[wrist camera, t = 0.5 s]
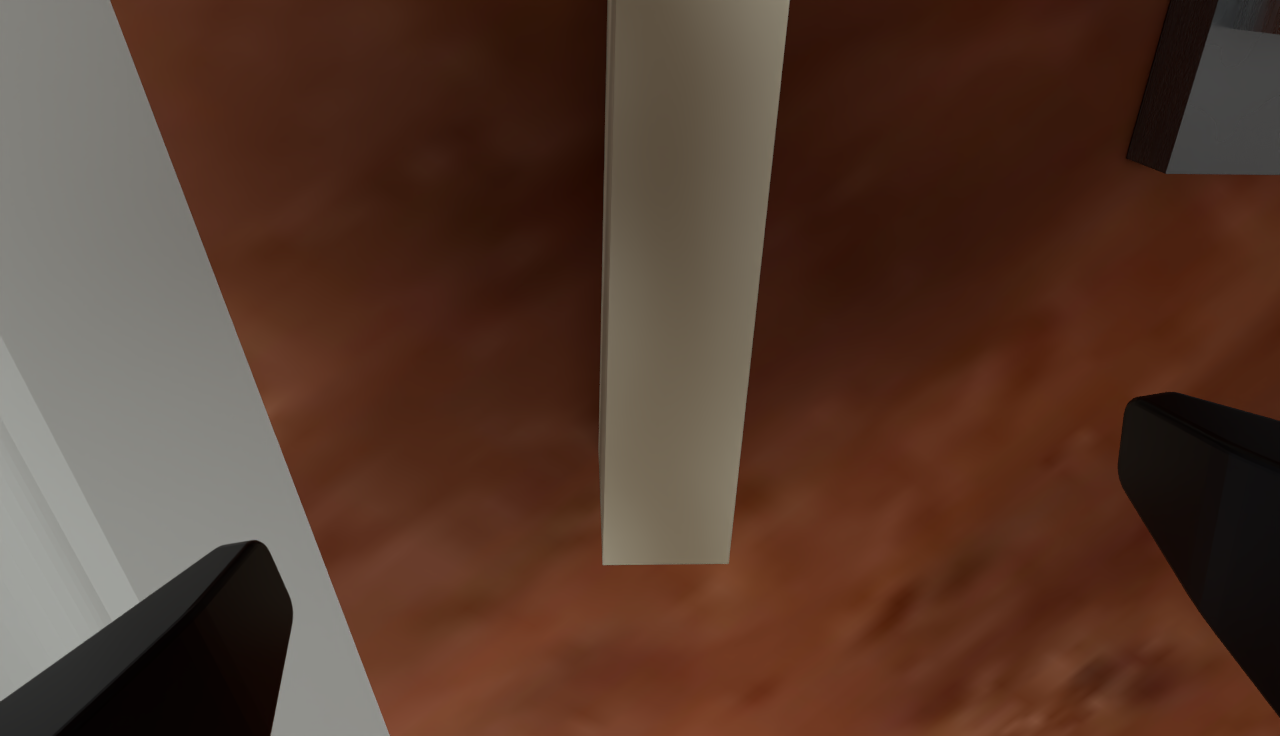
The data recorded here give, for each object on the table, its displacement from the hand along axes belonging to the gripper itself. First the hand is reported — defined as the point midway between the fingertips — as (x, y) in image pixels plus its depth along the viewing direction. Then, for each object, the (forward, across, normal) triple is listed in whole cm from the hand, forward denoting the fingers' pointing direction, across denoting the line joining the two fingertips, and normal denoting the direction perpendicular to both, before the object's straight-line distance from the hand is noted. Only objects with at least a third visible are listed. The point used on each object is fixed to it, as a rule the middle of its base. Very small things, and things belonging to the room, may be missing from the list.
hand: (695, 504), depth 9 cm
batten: (+12, -1, -2) cm, 13 cm away
